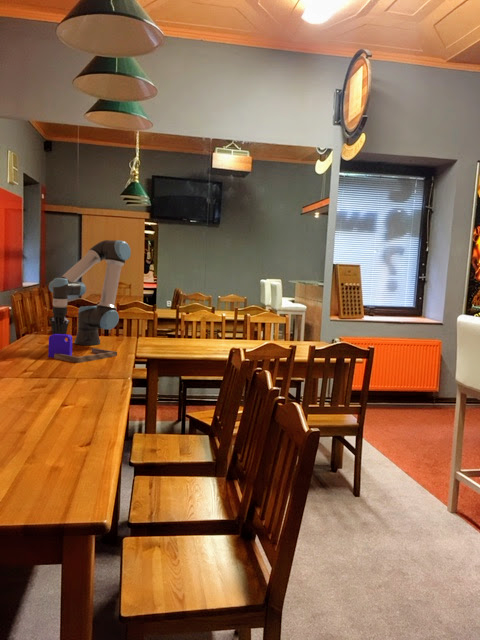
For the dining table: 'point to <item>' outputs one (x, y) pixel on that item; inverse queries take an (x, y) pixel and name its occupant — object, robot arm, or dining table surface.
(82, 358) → the handle
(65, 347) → the bracket
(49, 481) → the dining table surface
